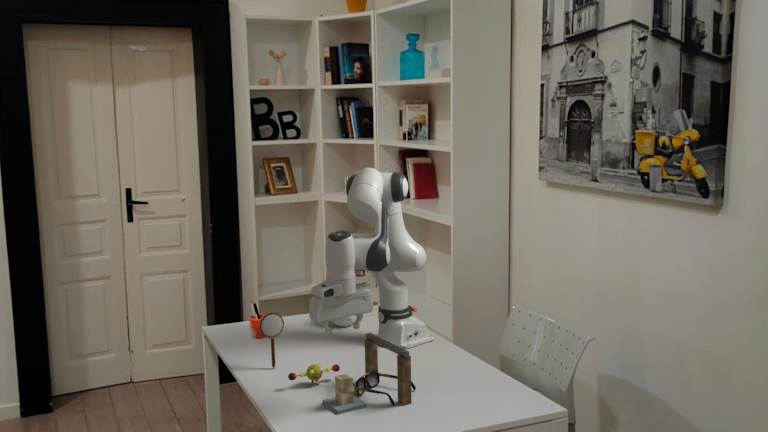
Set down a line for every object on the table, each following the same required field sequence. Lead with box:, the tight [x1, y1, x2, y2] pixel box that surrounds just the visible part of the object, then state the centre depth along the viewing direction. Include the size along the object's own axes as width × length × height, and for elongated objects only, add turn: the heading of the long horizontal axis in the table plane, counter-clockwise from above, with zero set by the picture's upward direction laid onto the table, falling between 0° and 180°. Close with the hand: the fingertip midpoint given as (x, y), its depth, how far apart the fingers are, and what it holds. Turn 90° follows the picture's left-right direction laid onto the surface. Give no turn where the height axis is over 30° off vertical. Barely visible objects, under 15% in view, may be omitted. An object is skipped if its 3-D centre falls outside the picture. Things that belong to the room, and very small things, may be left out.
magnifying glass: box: [259, 312, 285, 369], centre depth 261 cm, size 9×2×20 cm, turn 116°
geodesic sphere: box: [329, 315, 357, 328], centre depth 311 cm, size 14×14×14 cm
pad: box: [322, 394, 368, 415], centre depth 230 cm, size 10×10×1 cm
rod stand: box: [364, 338, 412, 406], centre depth 238 cm, size 3×22×15 cm, turn 32°
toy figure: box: [287, 364, 340, 387], centre depth 246 cm, size 18×6×7 cm, turn 117°
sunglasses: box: [353, 370, 417, 407], centre depth 237 cm, size 14×15×5 cm
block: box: [334, 373, 354, 405], centre depth 229 cm, size 4×4×8 cm
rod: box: [365, 332, 410, 358], centre depth 236 cm, size 2×23×2 cm, turn 32°
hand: (342, 331), depth 226 cm, fingers open, 8 cm apart
